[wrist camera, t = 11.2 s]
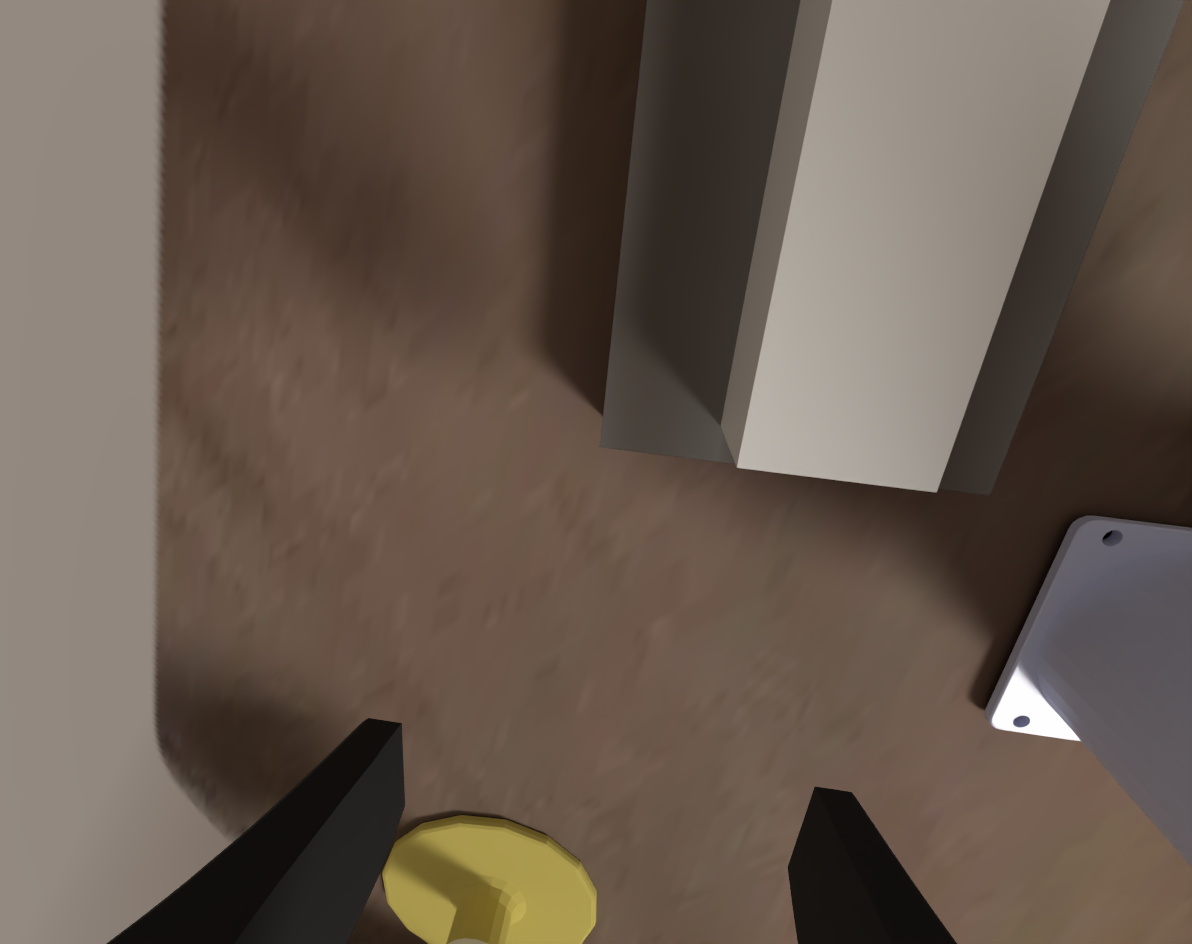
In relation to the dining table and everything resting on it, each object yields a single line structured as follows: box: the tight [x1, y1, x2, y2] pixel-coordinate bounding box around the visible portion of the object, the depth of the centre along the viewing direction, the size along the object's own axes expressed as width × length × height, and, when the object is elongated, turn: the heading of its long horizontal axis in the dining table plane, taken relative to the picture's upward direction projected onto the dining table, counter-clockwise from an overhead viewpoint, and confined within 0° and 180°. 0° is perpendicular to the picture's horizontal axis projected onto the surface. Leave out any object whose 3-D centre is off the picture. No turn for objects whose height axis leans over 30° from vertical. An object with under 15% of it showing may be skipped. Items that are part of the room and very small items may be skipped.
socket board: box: [600, 0, 1184, 496], centre depth 13 cm, size 10×14×2 cm
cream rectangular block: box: [721, 0, 1110, 493], centre depth 12 cm, size 4×12×6 cm, turn 175°
